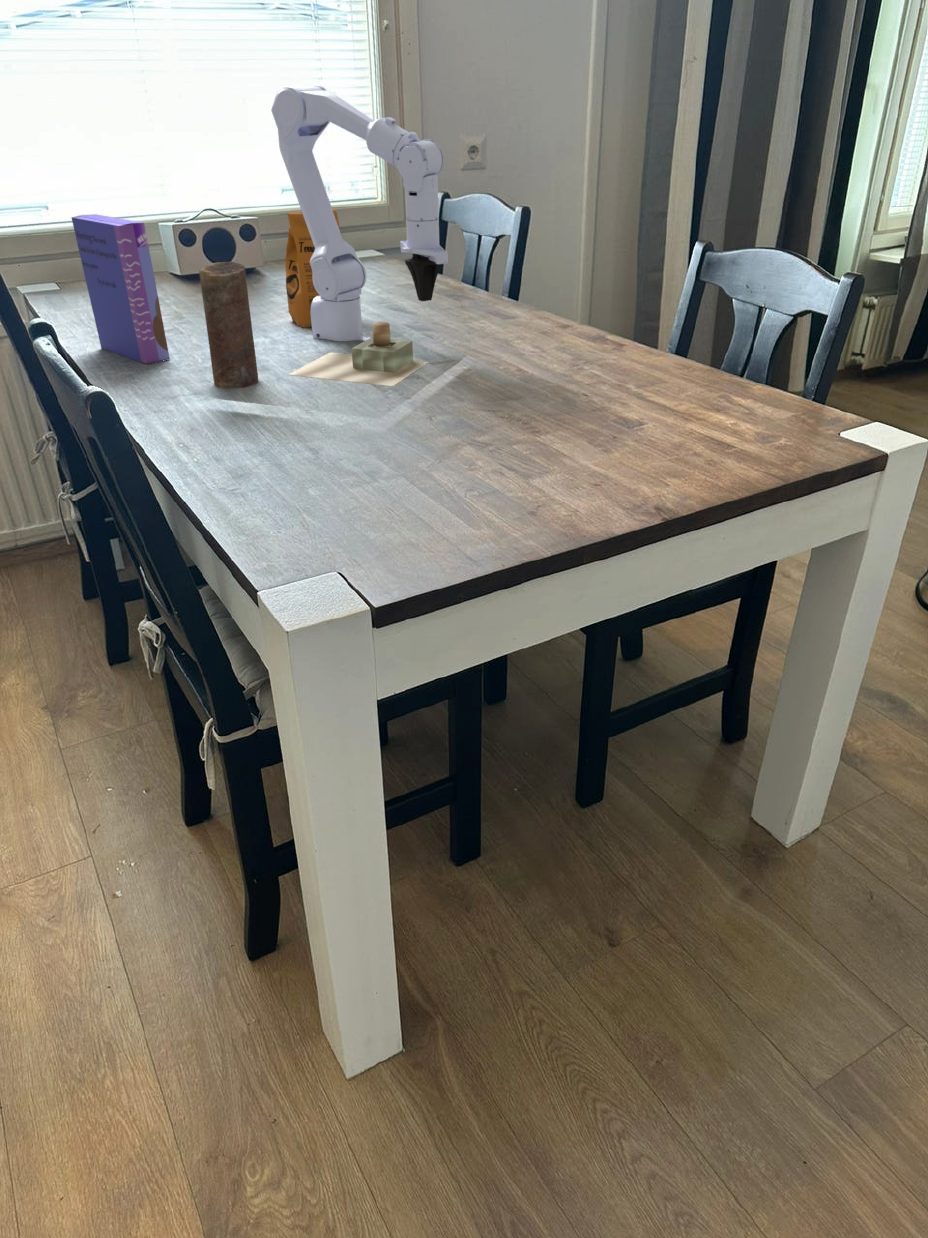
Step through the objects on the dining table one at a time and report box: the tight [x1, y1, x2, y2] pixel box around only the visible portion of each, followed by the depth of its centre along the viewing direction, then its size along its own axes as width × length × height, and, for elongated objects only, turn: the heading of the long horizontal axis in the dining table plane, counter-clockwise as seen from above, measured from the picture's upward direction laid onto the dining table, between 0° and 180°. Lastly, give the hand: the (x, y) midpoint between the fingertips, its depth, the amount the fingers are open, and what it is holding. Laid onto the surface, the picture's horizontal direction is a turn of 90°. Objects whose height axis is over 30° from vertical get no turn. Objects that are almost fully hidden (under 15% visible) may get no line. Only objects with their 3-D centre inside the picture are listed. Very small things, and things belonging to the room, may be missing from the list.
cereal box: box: [71, 213, 170, 366], centre depth 162 cm, size 17×5×24 cm, turn 47°
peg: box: [371, 321, 391, 348], centre depth 153 cm, size 3×3×7 cm
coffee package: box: [284, 208, 343, 329], centre depth 183 cm, size 10×12×22 cm
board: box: [287, 336, 429, 387], centre depth 152 cm, size 20×15×5 cm
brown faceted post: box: [198, 261, 259, 390], centre depth 142 cm, size 8×7×20 cm
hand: (425, 300), depth 159 cm, fingers closed
